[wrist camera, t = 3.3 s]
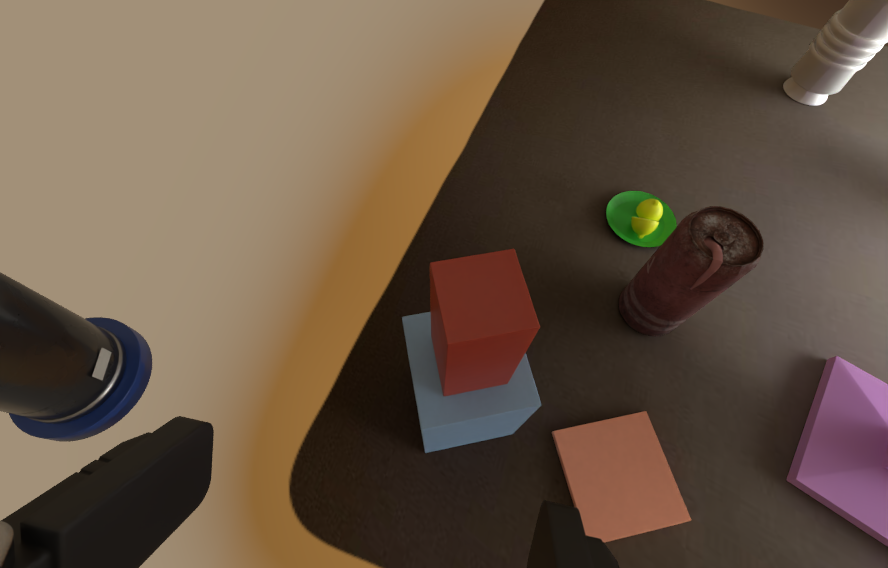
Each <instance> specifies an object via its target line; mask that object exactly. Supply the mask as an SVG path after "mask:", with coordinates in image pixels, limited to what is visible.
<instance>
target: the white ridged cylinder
mask: <svg viewBox="0 0 888 568" xmlns="http://www.w3.org/2000/svg"><path fill="white" fill-rule="evenodd" d="M887 42H888V0H849V2H848V3H847V4H846V5H845V6H844V8H843V9H841V10H839V11H837V12H836V13H835V14H834V15H833V16H832V17H831V18H830V20H829V21H828V22H827V23H826V25H825V26H824V27H823V28H822V30H821V31H820V32H819V33H818V35H817V36H816V37H815V38H814V39H813V41H812V42H811V43H810V44H809V45H810V47H809V50H808V51H807V52H806V53H805V54H804V56H803V57H802V58H801V59H800V60H799V61H798V62H797V63H796V64H795V65H794V66H793V67H792V69H791V76H792V77H791V78H789V79H787V80H786V81H785V82H784V84H783V88H784V91H785V92H786V94H787V95H788V96H789V97H791V98H792V99H793V100H795V101H797V102H800V103H802V104H806V105H821V104H823V103H824V102H825V101H826V100H827V97H828V95H830V94H835V93H837V92H839V91H840V90H841V89H842V88H843V87H844V85H845V84H846V83H847V82H848V81H849V79H850V78H851V77H852V76H853V75H854V73H855V72H856V71H858V70H860V69H862V68H863V67H864V66H865V65H866V64H867V62H868V61H870V60H871V59H872V58H873V56H874V55H875V53H877V52H878V51H879V50H880V49H881V48H882V47H883V46H884V44H885V43H887Z"/></svg>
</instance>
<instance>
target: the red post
mask: <svg viewBox="0 0 888 568" xmlns="http://www.w3.org/2000/svg"><path fill="white" fill-rule="evenodd" d="M430 303H431V337H432V342H433V347H434V352H435V357H436V362H437V367H438V372H439V377H440V382H441V387H442V392H443V396H449V395H454V394H459V393H464V392H469V391H474V390H479V389H484V388H489V387H494V386H499V385H504V384H508V382H509V381H510V379H511V377H512V375H513V374H514V372H515V370H516V368H517V367H518V365H519V363H520V361H521V360H522V358H523V356H524V354H525V353H526V351H527V349H528V347H529V346H530V344H531V342H532V340H533V339H534V337H535V335H536V333H537V332H538V330H539V328H540V325H539V322H538V319H537V316H536V313H535V310H534V307H533V304H532V301H531V298H530V295H529V292H528V289H527V286H526V283H525V280H524V277H523V274H522V271H521V268H520V265H519V262H518V259H517V256H516V252H515V250H514V249H509V250H503V251H497V252H491V253H485V254H479V255H473V256H467V257H461V258H455V259H449V260H443V261H437V262H431V263H430Z"/></svg>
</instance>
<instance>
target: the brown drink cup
mask: <svg viewBox="0 0 888 568" xmlns="http://www.w3.org/2000/svg"><path fill="white" fill-rule="evenodd" d="M762 251H763V239H762V236H761V234H760V231H759V230H758V228H757V227H756V226H755V225H754V223H753V222H752V221H750V220H749V219H748V218H747V217H745V216H744V215H743V214H741V213H739V212H737V211H735V210H733V209H729V208H725V207H718V206H710V207H706V208H703V209H700V210H699V211H696V212H692V213H691V214H689V215H688V216H687V217H685V218H684V219H683V220H682V221H681V223H680V224H679V225H678V226H677V227H676V228H675V230H674V231H673V232H672V233H671V234H670V236H669V237H668V238H667V239H666V240H665V241H664V243H663V244H662V245H661V246H660V247H659V248H658V250H657V251H656V252H655V253H654V254H653V255H652V257H651V258H650V259H649V260H648V261H647V263H646V264H645V265H644V266H643V267H642V268H641V270H640V271H639V272H638V273H637V274H636V275H635V277H634V278H633V279H632V280H631V281H630V282H629V284H628V285H627V286H626V287H625V288H624V290H623V291H622V293H621V295H620V298H619V308H620V312H621V314H622V316H623V318H624V320H625V321H626V322H627V323H628V324H629V325H630V327H631V328H633V329H635V330H636V331H638V332H640V333H643V334H646V335H649V336H662V335H665V334H668V333H669V332H671V331H672V330H673V329H675V328H676V327H677V326H679V325H680V324H681V323H683V322H684V321H685V320H687V319H688V318H689V317H691V316H692V315H693V314H694V313H696V312H697V311H698V310H700V309H701V308H702V307H704V306H705V305H706V304H708V303H709V302H710V301H712V300H713V299H714V298H715V297H717V296H718V295H719V294H721V293H722V292H723V291H725V290H726V289H727V288H729V287H730V286H731V285H733V284H734V283H735V282H737V281H738V280H739V279H740V278H742V277H743V276H744V275H746V274H747V273H748V272H750V271H751V270H752V269H753V268H754V267H756V266H757V263H758V261H759V259H760V256H761V253H762Z"/></svg>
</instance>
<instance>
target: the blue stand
mask: <svg viewBox="0 0 888 568" xmlns="http://www.w3.org/2000/svg"><path fill="white" fill-rule="evenodd" d="M402 321H403V327H404V333H405V339H406V345H407V351H408V357H409V363H410V369H411V375H412V380H413V386H414V392H415V398H416V404H417V409H418V415H419V421H420V427H421V433H422V438H423V444H424V450H425V453H428V452H433V451H437V450H442V449H447V448H451V447H456V446H461V445H465V444H470V443H475V442H479V441H484V440H489V439H493V438H498V437H503V436H507V435H512V434H513V433H514V432H515V431H516V430H517V429H518V428H519V427H520V426H521V425H522V424H523V423H524V422H525V421H526V420H527V419H528V418H529V417H530V416H531V415H532V414H533V413H534V412H535V411H536V410H537V409H538V408H539V407H540V406H541V402H540V399H539V395H538V392H537V389H536V385H535V382H534V379H533V376H532V372H531V369H530V366H529V362H528V359H527V356H526V353H525V354H524V356H523V358H522V360H521V361H520V363H519V365H518V367H517V368H516V370H515V372H514V374H513V375H512V377H511V379H510V381H509V382H508V384H504V385H499V386H494V387H489V388H484V389H479V390H474V391H469V392H464V393H459V394H454V395H449V396H443V392H442V387H441V382H440V377H439V372H438V367H437V362H436V357H435V352H434V347H433V342H432V337H431V312H427V313H421V314H415V315H410V316H404V317H402Z"/></svg>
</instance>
